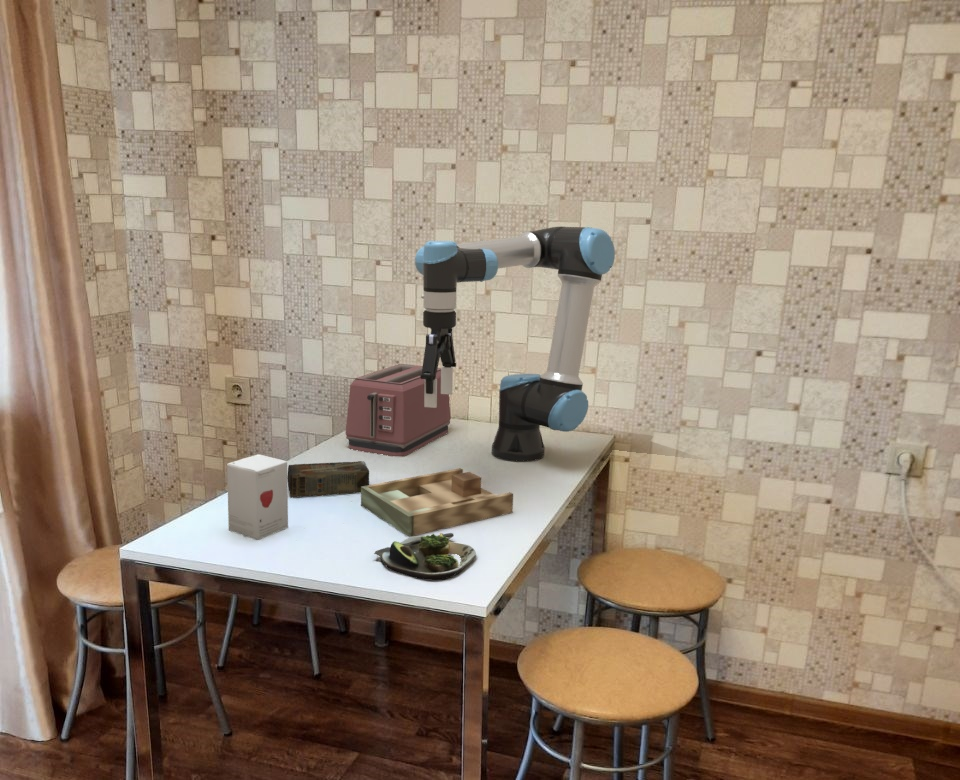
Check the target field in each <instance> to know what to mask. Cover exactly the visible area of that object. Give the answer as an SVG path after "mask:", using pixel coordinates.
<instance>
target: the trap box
mask: <svg viewBox="0 0 960 780" xmlns="http://www.w3.org/2000/svg"><path fill="white" fill-rule="evenodd" d="M460 473H464V469H463V468H453V469H449V470H443V471H440V472H439V471H437V472H432V473H427V474H422V475H416V476H412V477H406V478H402V479H395V480H389V481H383V482H379V483H373V484H369V485H367V486H362V487H361V493H360V506H361V507H362V508H363V507H364V509H366V510H367V511H369V512H370V513H372V514H373V515H375V516H377V517H378V518H380V519H381V520H383V521H384V522H386V524H388V525H390V526H392V527H393V528H395V529H396V530H397V531H399V532H401V533H402V534H404V535H405V536H406V537H407V538H410V537H415V536H417V535H422V534H427V533H430V532H435V531H439V530H444V529H447V528H452V527H455V526H460V525H464V524H469V523H473V522H476V521H477V522H478V521H482V520H486V519H490V518H495V517H499V516H503V515H502V514H504V515H506V514H507V513H508V514H511V513H510V512H512V513H513V511H514V508H513V506H514V493H513V492H505V493H500V494H495V493H492V492H491V491H488V490H487V489H485V488H482V487H481V494H477V495H472V496H468V497H462V496H460V495H458V494H456V493H454V492H452V491H451V490H452V475H454V474H460ZM508 514H507V515H508Z"/></svg>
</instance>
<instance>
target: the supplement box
mask: <svg viewBox="0 0 960 780" xmlns="http://www.w3.org/2000/svg"><path fill="white" fill-rule="evenodd" d="M226 470H227V471H226V476H227V479H226V480H227V511H228V512H227V515H228V531H230V532H232V533H233V532H234V533H236V534H238V535H242V536H245V537H248V538H252V539H253V540H256V541H258V540H261V539H264V538H266V537H268V536H270V535H272V534H275V533H278V532H280V531H282V530H285V529H287V528H289V512H288V511H289V507H288V506H289V505H288V504H289V502H288V499H289V498H288V493H289V492H288V479H287V477H288V461H287V460H283V459H279V458H277V457H276V458H275V457H271V456H267V455H263V454H260V453H259V454H258V453H257V454H254V455H251V456H248V457H243V458H240V459H237V460H235V461H231V462H228V463H227V464H226Z"/></svg>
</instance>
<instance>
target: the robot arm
mask: <svg viewBox="0 0 960 780" xmlns="http://www.w3.org/2000/svg"><path fill="white" fill-rule="evenodd" d="M615 255H616V250H615V246H614V242H613V240H612V238H611V236H610V235H609V234H608V232H607V231H605V230H603V229H602V228H595V227H588V226H585V227H584V226H582V227H581V226H561V225H560V226H553V227H546V228H541V229H536V230H532V231H524V232H522V233H520V234H519V236H515V237H507V238H497V239H490V240H481V241H472V242H465V243H457V242H455V241H453V240H452V241H451V240H429V241H426V242H425V243H424V246H422V247H421V248H419V249H418V250H417V252H416V254H415V257H414V265H415V268H416V270H417V272H418V273H419V274H420V275H422V276H423V277H422V278H423V286H422V287H423V289H422V290H423V294H421V297H420V298H421V299H423V301H422V302H423V309H425V310H424V311H423V312H422V313H423V314H422V316H423V317H422V325H423V327H425V328H427V329H430V334H428V333H427V334H425V346H424V354H423V359H422V360H423V361H422V366H423V367H422V374H421V376H420V377H421V379H425V382H424V407H431V408H436V407H437V379H435V378H436V373H437V368H439V363H441V365H442V366H441V367H440V368H441V394H449V396H450V395H451V396H452V395H453V385H454V384H453V381H454V380H453V375H454V371H453V370H454V369H453V368H456V367H457V362H456V355H455V346H454V339H453V328H456V325H457V312H456V311H455V309H456V308H457V286H458V285H457V284H458V283H470V282H471V283H473V282H481V283H482V282H484V281H491V280H492V279H494V278H495V277H496V275H497V273H498V270H499V269H505V268H512V267H519V266H522V267H524V268H526V269H531V268H544V269H551V270H558V271H557V277H558V278H559V279H560V281H561V287H560V293H559V298H558V303H557V309H556V310H557V311H556V316H555V320H554V325H553V327H554V328H553V333H552V339H551V344H550V351H549V357H548V363H547V369H546V371H545V372H544V373H543V374H539V373H517V374H516V373H515V374H509V375H505V376H503V377H502V378H501V379H500V384H499V393H498V395H499V396H498V398H499V399H498V400H499V402H498V410H499V411H498V428H497V430H496V432H495V436H494V439H493V443H492V445H491V454H492V456H494V457H495V458H497V459H501V460H504V461H508V462H509V461H510V462H533V461H534V462H535V461H538V460H540V459H543V458H544V457H545V452H546V451H545V449H546V448H545V447H546V446H545V444H544V440H543V436H542V433H541V430H540V429H541V428H540V426H542V427H544V428H550V430H553V431H560V432H564V433H565V432H566V433H567V432H572V431H574V430H575V429H577V428H578V427H579V426H580V425H581V424H582V423H583V422H584V420H585V419H586V416H587V413H588V410H589V399H588V396H587V394H586V393H585V392H584V391H583V386H584V385H583V384H584V383H583V381H582V380H581V378H580V377H579V376H580V369H581V363H582V358H583V353H584V347H585V341H586V335H587V329H588V324H589V317H590V312H591V307H592V301H593V295H594V289H595V288H596V286H598V285H599V284H600V283H601V282H602V278H603V275H605V274H607V273H608V272H610V271H611V269H612V267H613V266H614V263H615ZM440 361H441V362H440Z"/></svg>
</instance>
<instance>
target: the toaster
mask: <svg viewBox="0 0 960 780" xmlns="http://www.w3.org/2000/svg"><path fill="white" fill-rule="evenodd" d="M422 367H423V365H422V366H421V365H414V364H405V363H399V364H395V365H393V366H390V367H387V368H383V369H380V370H377V371H374V372H371V373H367V374H364V375H361V376H357V377H355V378H354V379H353V381H352V382H351V383H350V385H349V394H348V395H349V396H348V404H347V415H346V424H345V425H346V427H345V435H346V436H345V438H346V439H347V440H348V448H349V449H350V450H351V449H353V450H352V451H356V450H358V451H357V452H362V451H364V452H363V453H368V452H370V453H369V454H374V453H377V454H376V455H380V454H383V455H382V456H387V455H388V457H393V456H402V457H406V456H408V455H410V454H413V453H414V452H416V451H417V449H418V450H420V449H421V448H423V447H425V446H426V444H427V445H428V443H429V444H430V442H431V443H432V442H434V441H437V440H438V439H439V437H440V438H441V436H442V437H443V436H445V435H447V434H448V433H449V425H450V424H451V407H450V405H451V404H450V395H449V394H441V367H438V368H437V373H436V378H435V379H437V407H436V408H431V407H424V382H425V379H421V377H420V376H421V374H422ZM447 432H448V433H447ZM446 433H447V434H446ZM437 438H438V439H437ZM415 450H416V451H415ZM413 451H414V452H413Z"/></svg>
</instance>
